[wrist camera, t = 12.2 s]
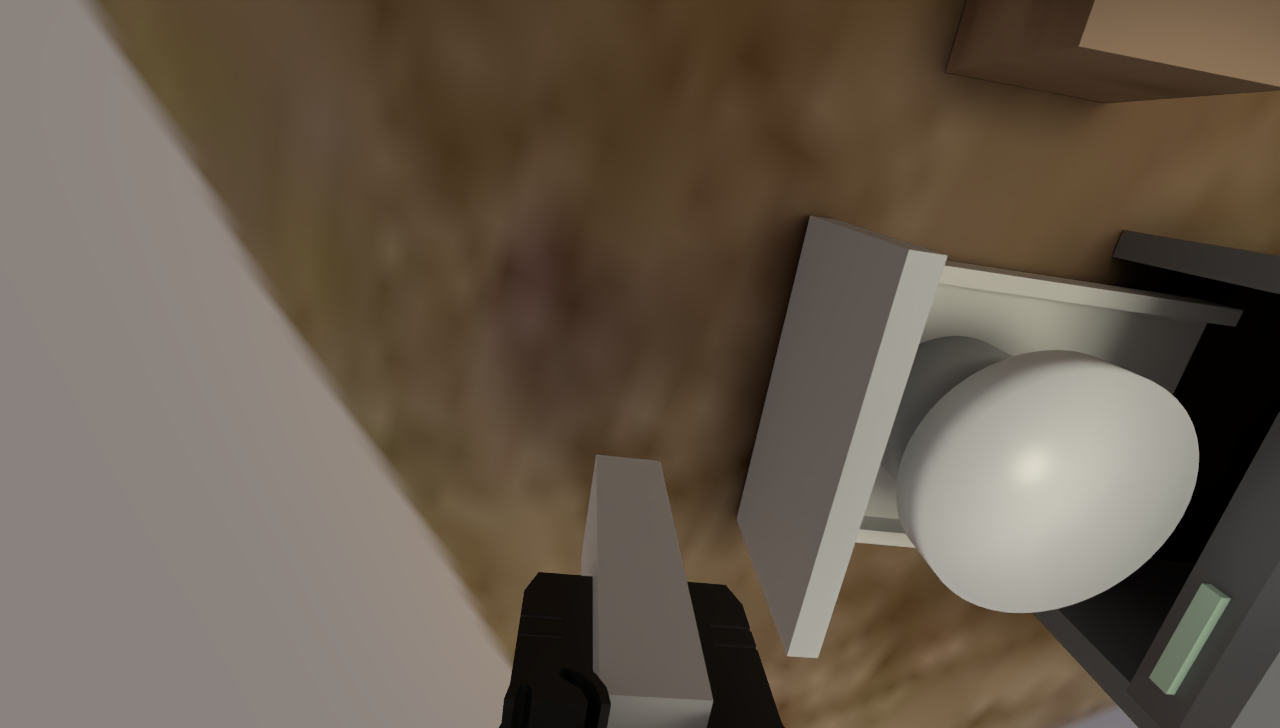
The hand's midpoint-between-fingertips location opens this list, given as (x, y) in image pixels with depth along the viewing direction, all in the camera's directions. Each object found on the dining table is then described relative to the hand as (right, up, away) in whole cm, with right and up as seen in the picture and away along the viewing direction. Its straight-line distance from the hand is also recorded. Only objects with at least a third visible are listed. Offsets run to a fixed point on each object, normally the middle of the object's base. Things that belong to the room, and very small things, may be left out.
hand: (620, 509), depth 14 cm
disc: (+12, 0, +5) cm, 13 cm away
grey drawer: (+13, +2, +10) cm, 17 cm away
